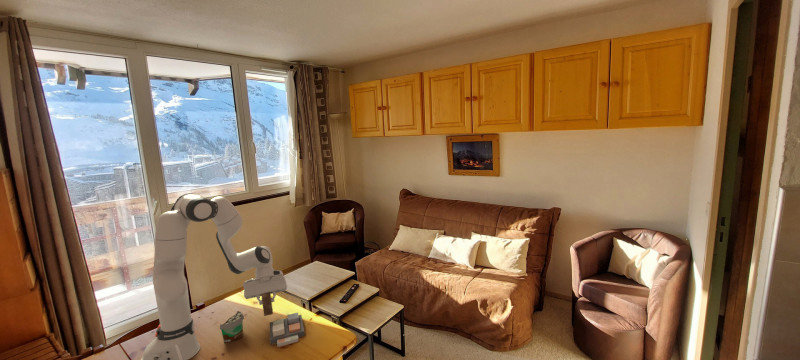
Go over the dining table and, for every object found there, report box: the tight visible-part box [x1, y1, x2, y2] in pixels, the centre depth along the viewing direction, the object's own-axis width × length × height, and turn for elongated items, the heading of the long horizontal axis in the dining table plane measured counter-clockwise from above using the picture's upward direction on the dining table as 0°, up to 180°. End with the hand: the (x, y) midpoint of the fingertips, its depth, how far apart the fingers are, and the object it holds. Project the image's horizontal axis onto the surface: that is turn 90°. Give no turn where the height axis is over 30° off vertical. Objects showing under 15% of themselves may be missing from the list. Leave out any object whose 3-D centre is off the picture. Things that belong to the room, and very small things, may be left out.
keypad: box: [269, 314, 306, 348], centre depth 154 cm, size 15×18×2 cm
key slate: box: [287, 312, 300, 325], centre depth 160 cm, size 5×5×2 cm
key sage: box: [272, 318, 285, 326], centre depth 157 cm, size 5×5×2 cm
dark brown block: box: [261, 292, 274, 317], centre depth 162 cm, size 4×4×10 cm
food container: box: [219, 310, 245, 344], centre depth 152 cm, size 12×6×10 cm, turn 168°
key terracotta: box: [289, 323, 301, 333], centre depth 153 cm, size 5×5×2 cm
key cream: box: [273, 323, 285, 337], centre depth 151 cm, size 5×5×2 cm
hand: (267, 303), depth 161 cm, fingers closed on dark brown block, 4 cm apart
